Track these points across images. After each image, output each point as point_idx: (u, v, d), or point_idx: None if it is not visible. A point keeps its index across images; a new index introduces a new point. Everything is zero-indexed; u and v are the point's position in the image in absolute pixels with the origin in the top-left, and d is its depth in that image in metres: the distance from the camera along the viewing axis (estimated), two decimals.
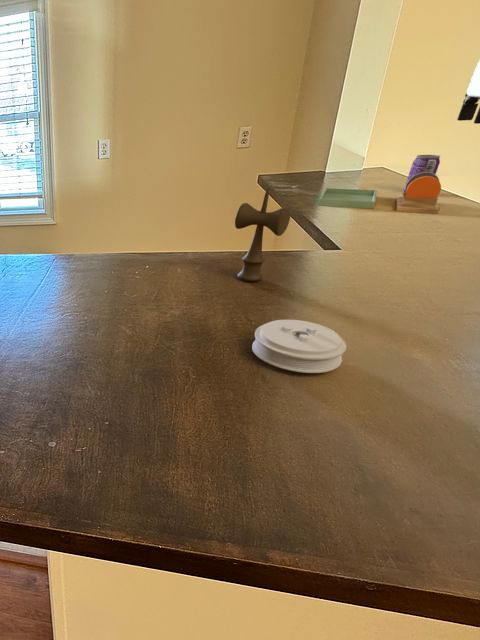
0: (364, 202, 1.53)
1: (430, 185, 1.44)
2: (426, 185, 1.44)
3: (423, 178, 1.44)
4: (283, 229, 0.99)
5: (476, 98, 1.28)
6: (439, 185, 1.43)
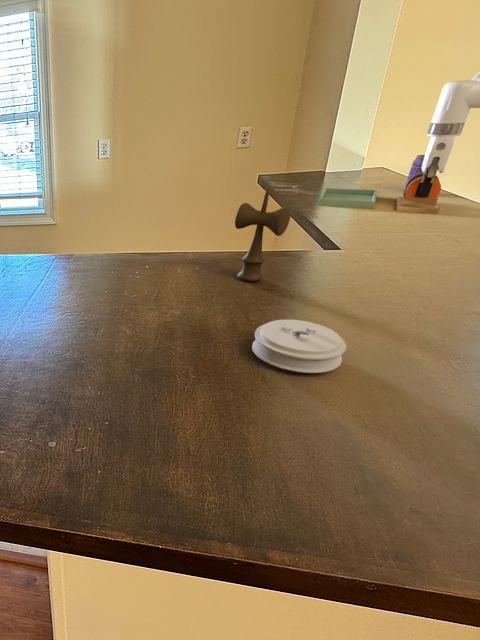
0: (364, 202, 1.53)
1: None
2: None
3: None
4: (283, 229, 0.99)
5: None
6: (439, 185, 1.43)
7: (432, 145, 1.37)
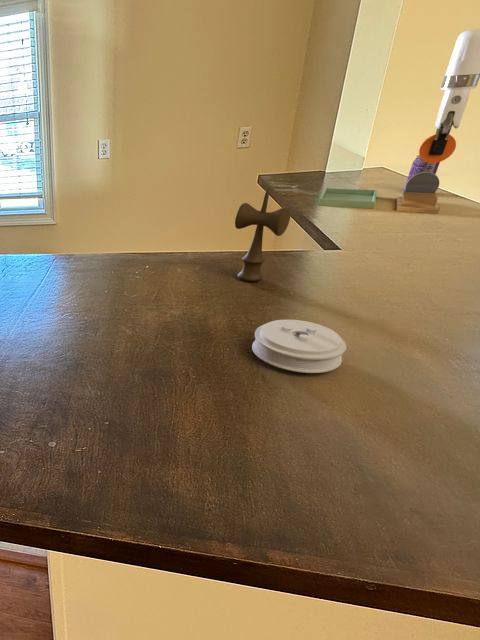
0: (364, 202, 1.53)
1: None
2: None
3: None
4: (283, 229, 0.99)
5: None
6: (454, 142, 1.37)
7: (447, 99, 1.32)
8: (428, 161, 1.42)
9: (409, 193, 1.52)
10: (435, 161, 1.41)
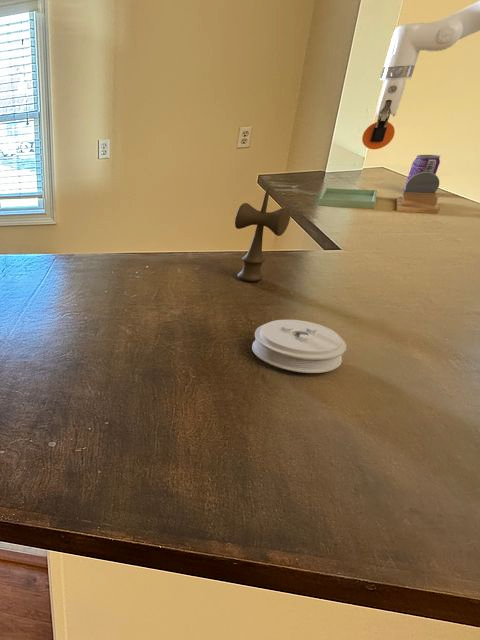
0: (364, 202, 1.53)
1: None
2: None
3: (378, 123, 1.49)
4: (283, 229, 0.99)
5: None
6: (393, 129, 1.47)
7: (384, 88, 1.42)
8: (370, 147, 1.52)
9: (409, 193, 1.52)
10: (376, 147, 1.51)
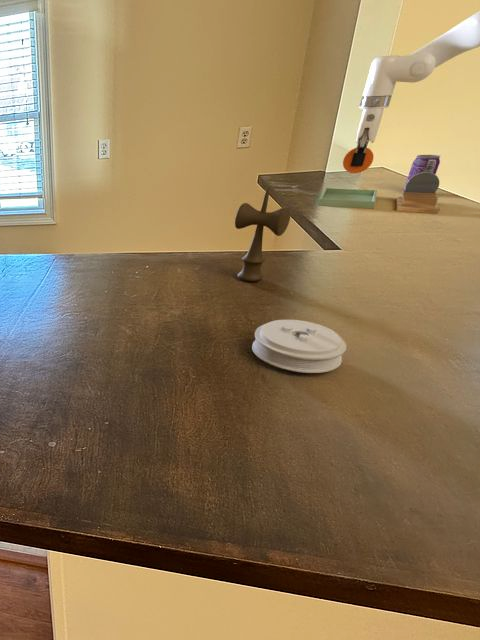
0: (364, 202, 1.53)
1: None
2: None
3: None
4: (283, 229, 0.99)
5: None
6: (371, 155, 1.54)
7: (363, 117, 1.48)
8: (351, 171, 1.58)
9: (409, 193, 1.52)
10: (356, 172, 1.58)
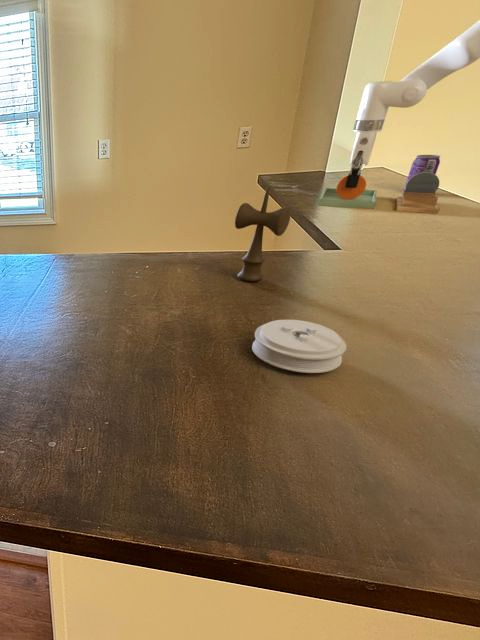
0: (364, 202, 1.53)
1: None
2: None
3: None
4: (283, 229, 0.99)
5: None
6: (364, 182, 1.58)
7: (356, 140, 1.51)
8: (344, 197, 1.63)
9: (409, 193, 1.52)
10: (349, 198, 1.62)
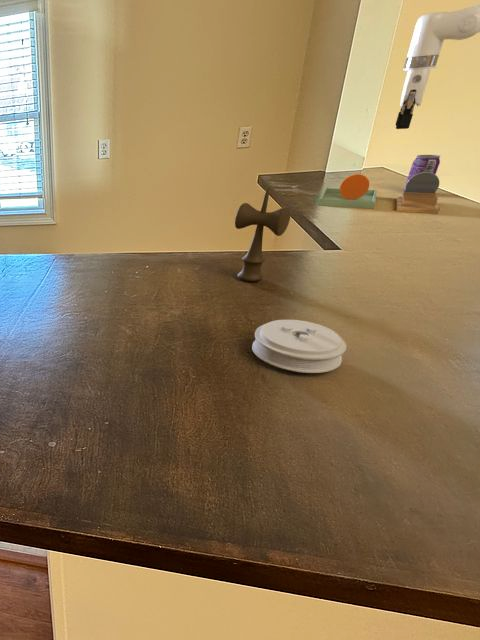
0: (364, 202, 1.53)
1: (361, 183, 1.58)
2: (357, 183, 1.59)
3: (357, 175, 1.58)
4: (283, 229, 0.99)
5: None
6: (368, 185, 1.57)
7: (408, 78, 1.42)
8: (345, 196, 1.62)
9: (409, 193, 1.52)
10: (350, 198, 1.62)
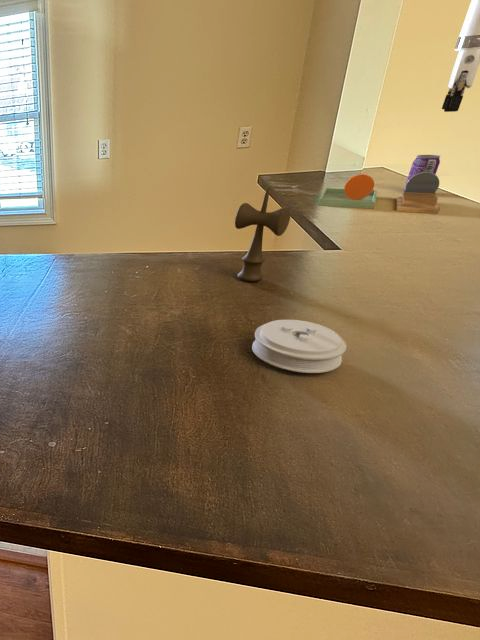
0: (364, 202, 1.53)
1: (366, 185, 1.58)
2: (363, 184, 1.58)
3: (365, 176, 1.57)
4: (283, 229, 0.99)
5: None
6: (372, 189, 1.57)
7: (460, 59, 1.38)
8: (347, 194, 1.62)
9: (409, 193, 1.52)
10: (350, 197, 1.62)
